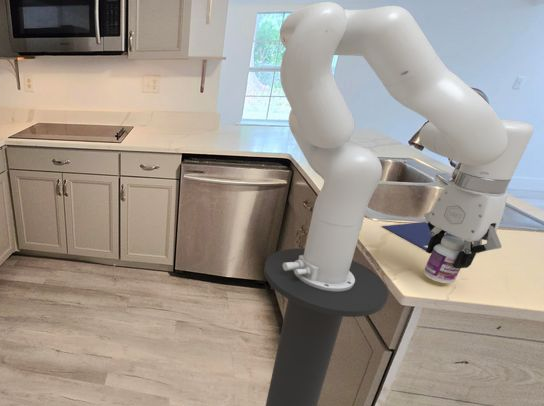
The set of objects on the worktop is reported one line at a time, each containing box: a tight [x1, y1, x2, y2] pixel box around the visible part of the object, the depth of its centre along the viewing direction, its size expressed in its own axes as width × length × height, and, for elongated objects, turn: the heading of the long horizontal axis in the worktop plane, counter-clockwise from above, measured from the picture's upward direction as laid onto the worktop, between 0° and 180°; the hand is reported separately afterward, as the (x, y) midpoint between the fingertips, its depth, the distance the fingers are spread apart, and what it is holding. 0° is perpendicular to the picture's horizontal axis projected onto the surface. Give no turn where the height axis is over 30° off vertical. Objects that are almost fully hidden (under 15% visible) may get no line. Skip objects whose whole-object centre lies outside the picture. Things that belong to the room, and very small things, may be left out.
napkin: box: [382, 221, 463, 251], centre depth 101 cm, size 14×14×1 cm
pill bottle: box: [423, 236, 464, 284], centre depth 80 cm, size 5×5×10 cm
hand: (446, 258), depth 80 cm, fingers closed on pill bottle, 5 cm apart
